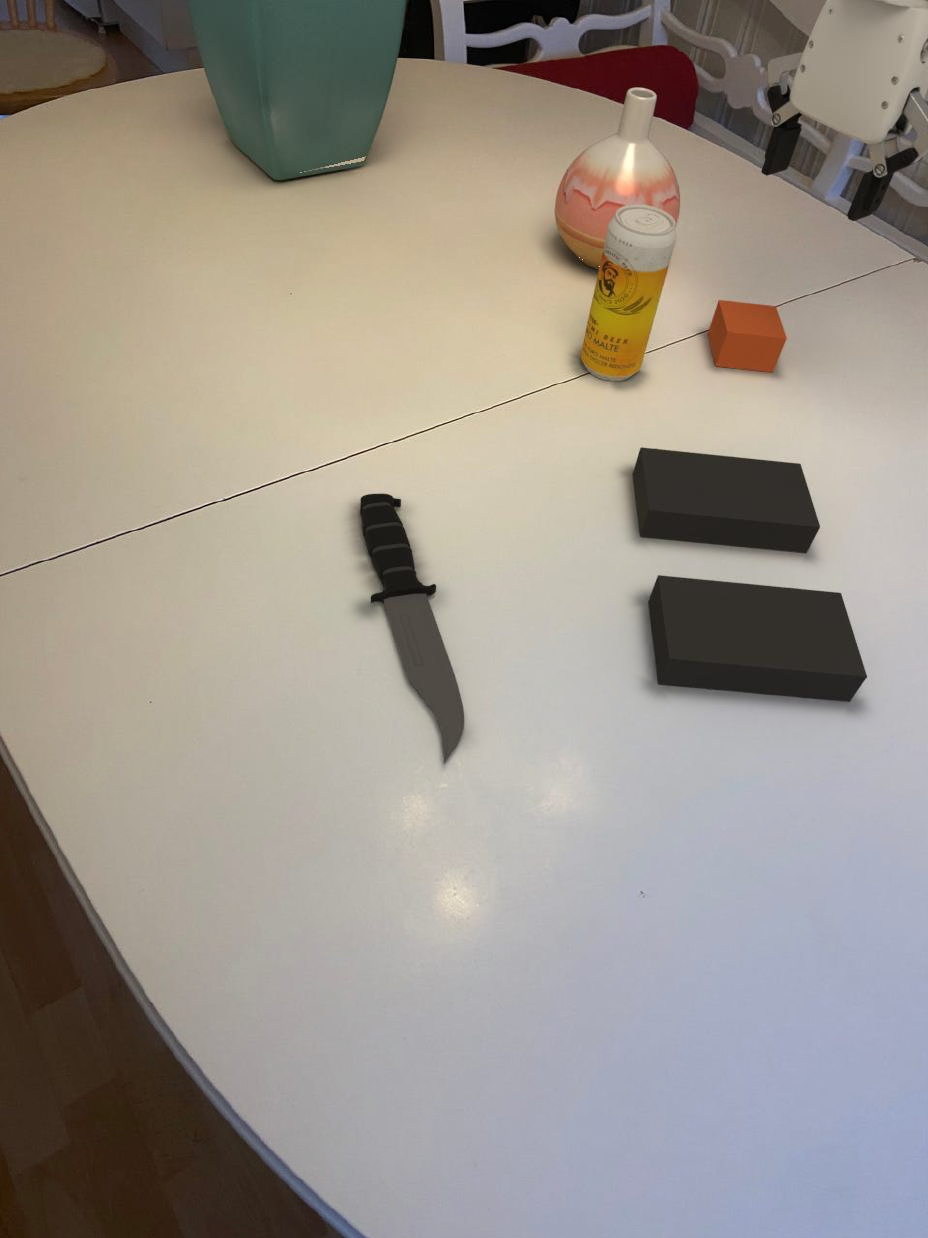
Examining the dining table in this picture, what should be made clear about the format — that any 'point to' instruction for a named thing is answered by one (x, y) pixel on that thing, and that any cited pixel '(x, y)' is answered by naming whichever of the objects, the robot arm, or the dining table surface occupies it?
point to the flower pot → (299, 76)
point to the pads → (736, 612)
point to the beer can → (627, 291)
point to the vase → (615, 180)
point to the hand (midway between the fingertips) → (815, 193)
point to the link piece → (746, 336)
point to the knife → (412, 615)
